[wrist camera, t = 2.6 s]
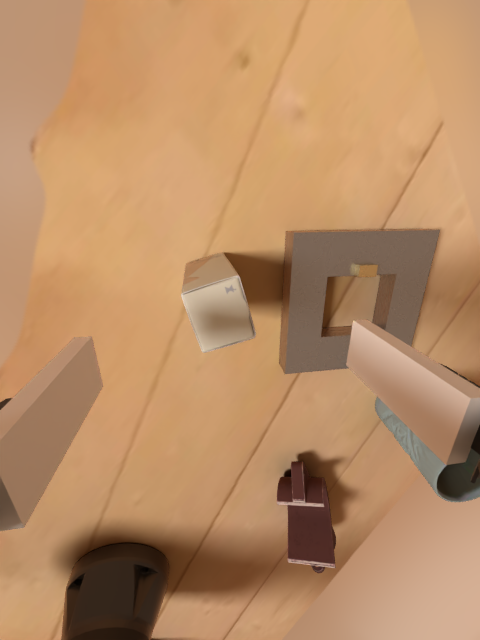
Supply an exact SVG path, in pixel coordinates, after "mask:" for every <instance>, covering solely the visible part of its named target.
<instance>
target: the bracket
mask: <svg viewBox="0 0 480 640" xmlns="http://www.w3.org/2000/svg"><path fill="white" fill-rule="evenodd" d="M291 476H292V477H281V478H280V480H279V483H278V490H277V504H278V505H288V562H289V563H297V564H306V565H311V567H312V568H313V570H314V571H315V572H317V573H322V572H323V571H324V569H325V567H330V568H335V557H334V549H335V545H336V536H335V532H334V530H333V527H332V524H331V514H330V506H329V499H328V492H327V487H326V483H325V479H324V478H319V477H310V476H309V473H308V471H307V469H306V466H305V464H304V462H292V463H291ZM316 566H319V567H316Z"/></svg>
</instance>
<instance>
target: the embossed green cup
mask: <svg viewBox="0 0 480 640" xmlns="http://www.w3.org/2000/svg"><path fill="white" fill-rule="evenodd" d="M375 409H376V412H377V414H378V416H379V418H380V419H381V420H382V421H383V423H384V424H385V425H386V427H387V428H388V429H389V430H390V431H391V432H392V433H393V434H394V436H395V439H396V440H397V441H398V442H399V444H400V445H401V446H402V448H403V449H404V450H405V452H406V453H407V454H408V455H410V458H411V459H412V461H413V462H414V464H415V465H416V466H417V468H418V469H419V471H420V472H421V473H422V475H423V476H424V477H425V479H426V480H427V481H428V483H429V484H430V485H431V487H432V488H433V490H434V491H435V493H436V494H437V495H438V496H439V497H441V498H442V499H444V500H446V501H450V502H464V501H469V500H473V499H476V498H478V497H480V478H478V479H477V480H476V482H475V484H474V483H472V482H471V477H472V474H473V472H474V470H475V467H476V465H477V463H478V461H479V458H480V455H479V454H478V453H477V452H475V451H474V450H473V449H472V448H471V450H470V452H469V455H468V457H467V460H466V462H464V463H457V464H450V465H445V464H444V463H443V462H442V461H441V460H440V459H439V458H438V457H437V456H436V455H435V454H434V453H433V452H432V451H431V450H430V449H429V448H428V447H427V446H426V445H425V444H424V443H423V442H422V441H421V440H420V439H419V438H418V437H417V436H416V435H415V434H414V433H413V432H412V431H411V430H410V429H409V428H408V427H407V426H406V425H405V424H404V423H403V422H402V421H401V420H400V419H399V418H398V417H397V416H396V415H395V414H394V413H393V412H392V411H391V410H390V409H389V408H388V407H387V406H386V405H385V404H384V403H383V402H382V401H381V400H380V399H379V398H378V397H377V398H376V402H375Z"/></svg>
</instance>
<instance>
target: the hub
mask: <svg viewBox="0 0 480 640" xmlns="http://www.w3.org/2000/svg"><path fill="white" fill-rule="evenodd" d="M439 232H440V230H432V229H388V230H327V231H286V239H285V258H284V278H283V297H282V316H281V336H280V355H279V364H280V366H281V368H282V369H283V371H284V373H285V374H291V373H302V372H313V371H324V370H335V369H346V368H348V367H347V366H346V363H347V356H348V350H349V344H350V338H351V331H352V326H346V327H331V328H322V322H323V313H324V304H325V295H326V286H327V277H333V276H356V277H375V276H376V275H381V278H380V284H379V289H378V294H377V300H376V305H375V311H374V316H373V322H372V323H373V324H375V325H377V326H378V327H380V328H382V329H383V330H385V331H386V332H388V333H390V334H391V335H393V336H395V337H396V338H398V339H400V340H401V341H403V342H404V343H406V344H408V345H409V346H411V344H412V340H413V336H414V332H415V328H416V324H417V320H418V316H419V312H420V308H421V304H422V300H423V296H424V292H425V288H426V284H427V280H428V276H429V272H430V268H431V264H432V260H433V256H434V252H435V248H436V244H437V240H438V236H439Z"/></svg>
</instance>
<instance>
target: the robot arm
mask: <svg viewBox="0 0 480 640" xmlns="http://www.w3.org/2000/svg"><path fill="white" fill-rule="evenodd" d="M346 366H347V367H348V368H349V369H350V370H351V371H352V372H353V373H354V374H355V375H356V376H357V377H358V378H359V379H360V380H361V381H362V382H363V383H364V384H365V385H366V386H367V387H368V388H369V389H370V390H371V391H372V392H373V393H374V394H375V395H376V396H377V397H378V398H379V399H380V400H381V401H382V402H383V403H384V404H385V405H386V406H387V407H388V408H389V409H390V410H391V411H392V412H393V413H394V414H395V415H396V416H397V417H398V418H399V419H400V420H401V421H402V422H403V423H404V424H405V425H406V426H407V427H408V428H409V429H410V430H411V431H412V432H413V433H414V434H415V435H416V436H417V437H418V438H419V439H420V440H421V441H422V442H423V443H424V444H425V445H426V446H427V447H428V448H429V449H430V450H431V451H432V452H433V453H434V454H435V455H436V456H437V457H438V458H439V459H440V460H441V461H442V462H443V463H444V464H445V465H450V464H457V463H464V462H466V460H467V457H468V455H469V452H470V450H471V448H472V449H473V450H474V451H475V452H477V453H478V454H479V455H480V386H478V385H476V384H475V383H473V382H471V381H468V380H467V379H466V378H465V377H463V376H461V375H458V373H457V372H455V371H453V370H452V369H450V368H448V367H447V366H444V365H442V364H439V363H437V362H436V361H434V360H432V359H431V358H429V357H427V356H426V355H424V354H422V353H421V352H419V351H418V350H416V349H414V348H413V347H411V346H409V345H408V344H406V343H404V342H403V341H401V340H400V339H398V338H396V337H395V336H393V335H391V334H390V333H388V332H386V331H385V330H383V329H382V328H380V327H378V326H377V325H375V324H373V323H372V322H370V321H368V320H367V319H365V320H353V325H352V331H351V338H350V344H349V350H348V356H347V363H346ZM102 387H103V383H102V379H101V375H100V370H99V366H98V361H97V357H96V353H95V348H94V344H93V340H92V337H76V338H73V339H72V340H71V341H70V342H69V343H68V344H67V345H66V346H65V347H64V348H63V349H62V350H61V351H60V352H59V353H58V354H57V355H56V356H55V357H54V358H53V359H52V360H51V361H50V362H49V363H48V364H47V365H46V366H45V367H44V368H43V369H42V370H41V371H40V372H39V373H38V374H37V375H36V376H35V377H34V378H33V379H32V380H31V381H30V382H29V383H27V384H26V385H25V386H24V387H23V388H22V389H21V390H20V391H19V392H18V393H17V394H16V395H15V396H14V397H13V398H9V399H5V400H4V401H2V402H0V531H5V530H11V529H18V528H24V527H25V525H26V523H27V522H28V520H29V518H30V516H31V514H32V513H33V511H34V509H35V507H36V506H37V504H38V502H39V500H40V498H41V497H42V495H43V493H44V491H45V489H46V488H47V486H48V484H49V482H50V480H51V479H52V477H53V475H54V473H55V471H56V470H57V468H58V466H59V464H60V463H61V461H62V459H63V457H64V455H65V454H66V452H67V450H68V448H69V446H70V445H71V443H72V441H73V439H74V437H75V436H76V434H77V432H78V430H79V428H80V427H81V425H82V423H83V421H84V420H85V418H86V416H87V414H88V412H89V411H90V409H91V407H92V405H93V403H94V402H95V400H96V398H97V396H98V394H99V393H100V391H101V389H102ZM478 478H480V458H479V461H478V463H477V465H476V467H475V470H474V472H473V474H472V477H471V482H472V483H474V484H475V482H476V480H477V479H478ZM168 576H169V563H168V561H167V559H166V557H165V556H164V555H163V554H162V553H160V552H159V551H157V550H156V549H154V548H151V547H148V546H145V545H140V544H115V545H109V546H105V547H102V548H99V549H96V550H94V551H92V552H90V553H88V554H86V555H85V556H84V557H82V558H81V559H80V560H79V561H78V562H77V563H76V564H75V566H74V568H73V570H72V572H71V575H70V578H69V581H68V584H67V587H66V592H65V603H64V615H63V627H62V638H61V640H151V636H152V632H153V629H154V626H155V623H156V620H157V617H158V614H159V611H160V608H161V605H162V602H163V599H164V596H165V593H166V590H167V585H168Z"/></svg>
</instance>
